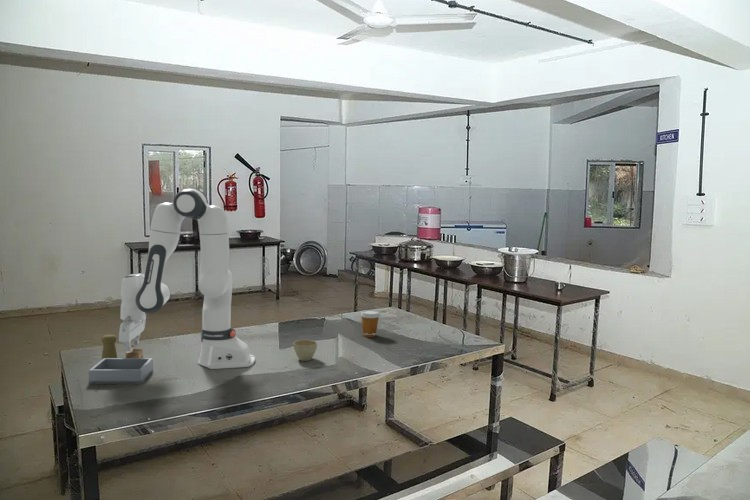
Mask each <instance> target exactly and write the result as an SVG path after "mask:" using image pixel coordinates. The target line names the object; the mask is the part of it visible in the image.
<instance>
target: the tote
mask: <svg viewBox="0 0 750 500" xmlns="http://www.w3.org/2000/svg"><path fill="white" fill-rule="evenodd" d="M153 371H154V359H153V358H152V357H145V358H144V357H143V358H126V357H120V358H119V357H117V358H104V359H102V358H101V359H100V361H98V363H96V364H95V365H93V366H92V367H91V368H89V370H88V384H90V385H96V384H97V385H107V384H109V385H111V384H112V385H118V384H119V385H122V384H123V385H125V384H127V385H129V384H131V385H134V384H135V385H137V384H138V385H140V384H141V385H142V384H143V383H144V382H145V380H146V379H147V378H148V377H149V376H150V375H151V374H152V372H153Z"/></svg>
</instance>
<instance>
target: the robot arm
mask: <svg viewBox="0 0 750 500" xmlns="http://www.w3.org/2000/svg"><path fill="white" fill-rule="evenodd" d="M185 218H188V219H191V220H196V221H197V222H198V227H199V244H200V245H199V247H200V263H199V282H198V286H199V290H200V292H201V294H202V295H203V296H204V297H203V306H202V310H201V312H202V318H201V319H202V328H201V330H200V342H201V347H200V348H201V349H200V354H199V358H198V361H197V362H198V364H199V365H200V366H202V367H206V368H208V369H210V370H221V369H234V368H248V367H251V366H253V365H254V363H255V361H256V358H255V355H254V354H250V353H251V352H250V349H249V346H248V344H247V343H246V342H244V341H242V340H241V339H240V338H238V337H237V336H236V335H237V334H236V333H237V331H236V328H234V327H232V326H231V321H232V320H231V317H232V314H231V309H232V298H233V283H234V282H233V281H234V278H233V277H234V276H233V273H232V271H231V270H230V269H229V261H230V260H229V259H230V238H229V225H228V218H227V214H226V211H225V210H224V208H222V206H221V207H220V206H218V205H211V204H209V201H208V198H207V195H206V194H205V193H204V192H202V191H201V190H198V189H196V188H186V189H185V188H184V189H181V190H180V191H178V192H177V193H176V194H175V195H174V198H173V202H162V203H159V204H157V206H156V207H155V210H154V211H153V214H152V219H151V224H150V230H149V239H148V253H147V254H148V256H147V263H146V267H145V273H131V274H127V275H125V276H124V277H123V278H122V281H121V287H120V299H121V304H120V320H122V321H123V322H121V323H120V326H119V333H118V341H119V343H121V344H123V346H124V351H125V353H126V352H129V351H130V350H131V349H132V346H131V342H132V345H134V346H137V345H139V344H140V337H141V334H142V332H144V331H145V328H146V319H147V314H155V313H158V312H159V311H160V310H161V309H162V307H163V306H164V305H166V303H167V301H169V299H170V297H171V290H170V287H169V286H168V285H167V284H166V283H164V282H163V275H164V271H165V268H166V267H165V266H166V263H167V261H168V260H169V258H170V257H171V255H172V254H173V253H174V251H175V250H176V249H177V246H178V244H179V241H180V240H179V239H180V235H181V227H182V223H183V221H184V219H185Z"/></svg>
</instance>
